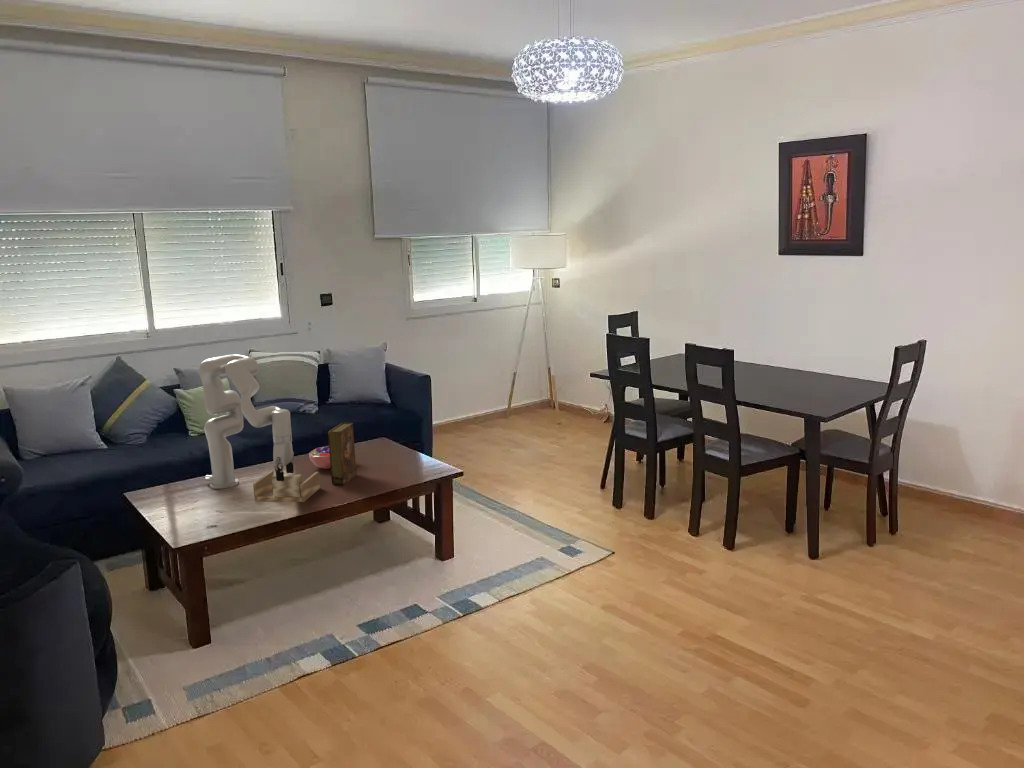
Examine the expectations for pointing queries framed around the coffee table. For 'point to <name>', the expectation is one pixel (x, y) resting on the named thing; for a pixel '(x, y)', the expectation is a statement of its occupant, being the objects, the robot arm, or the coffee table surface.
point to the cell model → (321, 457)
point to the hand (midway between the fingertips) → (285, 476)
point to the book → (342, 453)
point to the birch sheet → (287, 486)
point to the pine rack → (265, 486)
